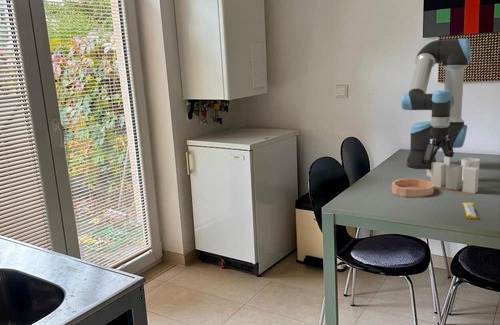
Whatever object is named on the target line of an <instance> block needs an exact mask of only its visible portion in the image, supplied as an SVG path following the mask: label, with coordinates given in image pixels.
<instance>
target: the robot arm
mask: <svg viewBox="0 0 500 325" xmlns="http://www.w3.org/2000/svg"><path fill="white" fill-rule="evenodd" d="M471 49H472V48H471V42H470V40H469V38H451V39H450V38H449V39H448V38H447V39H436V40H433V41H430V42H428V43H426V44H425V45H424V46H423V47H422V48H421V49H420V50H419V51H418V53H417V55H416V57H415V60H414V61H415V68H414V71H413V76H412V80H411V83H410V87H409V90H408V93H403V94H402V96H401V100H400V105H401V109H402V110H403V111H431V118H430V120H429V121H421V122H415V123H413V124H412V125H411V127H410V132H409V133H410V143H409V144H410V148H409V150H410V151H409V153H408V157H407V159H406V166H407V167H408V168H413V169H421V170H423V169H426V177H428V178H431V177H433V171H434V162H438V161H437V158H436V155H437V153H438V151H439V150H440V149H441V150H442V153H443V154H444V157H443V163H447V166H448V165H451V158H453V157H454V154H455V152H454V149H457V148H458V149H460V148H462V147H463V146H464V145H465V140H466V138H467V131H468V125H467V124H465V120H463V118H462V112H463V111H462V108H463V95H464V94H463V93H464V90H463V89H464V76H465V69H466V68H467V67H468V65H469V63H471V62H472V51H471ZM436 64H438V65H439V64H441V65H442V68H443V70H444V71H445V72H444V89H442V90H437V89H436V90H434V91H433V92H432V93H427V90H428V86H429V82H430V78H431V75H432V74H431V73H432V70H433V67H434V66H435V65H436ZM446 169H447V168H446Z"/></svg>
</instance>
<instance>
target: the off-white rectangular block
mask: <svg viewBox="0 0 500 325" xmlns="http://www.w3.org/2000/svg"><path fill="white" fill-rule="evenodd" d="M462 170H463V166H461V164H454V163H450V165H448V166H447V169H446V188H447V189H452V190H458V189H461V188H462V186H463V180H462Z"/></svg>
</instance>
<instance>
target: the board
mask: <svg viewBox="0 0 500 325" xmlns="http://www.w3.org/2000/svg"><path fill="white" fill-rule="evenodd" d="M462 189H463V185H462V188H461V189H458V190H452V189H447V188H446V185H445V186H442V187H437V186H434V190H438V191H443V192H450V193H454V194H458V195H464V196H470V195H472V194H474V193H468V192H462ZM482 190H483V188H478V191H477V192H479V191H482ZM477 192H476V193H477Z"/></svg>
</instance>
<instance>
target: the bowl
mask: <svg viewBox="0 0 500 325" xmlns="http://www.w3.org/2000/svg"><path fill="white" fill-rule="evenodd" d="M391 193H392V194H393V195H395V196H398V197H401V198H406V199H416V198H420V197H422V198H424V197H428V196H431V195H434V193H435V189H434V183H432V182H431V180H430V181H429V180H425V179H421V178H420V179H419V178H400V179H396V180H394V181H392V183H391Z"/></svg>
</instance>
